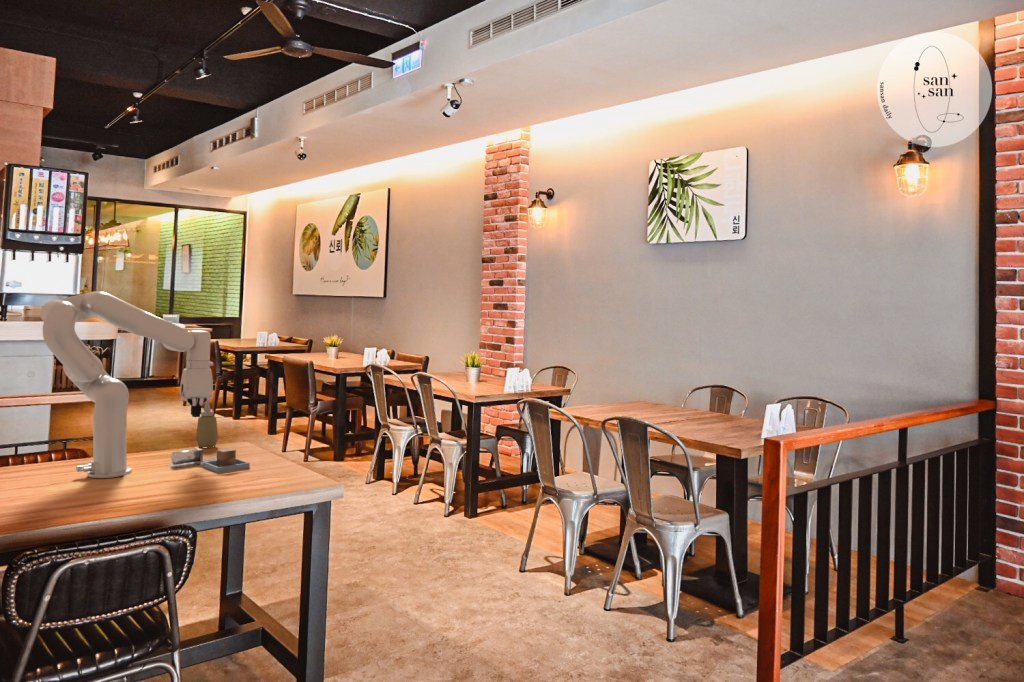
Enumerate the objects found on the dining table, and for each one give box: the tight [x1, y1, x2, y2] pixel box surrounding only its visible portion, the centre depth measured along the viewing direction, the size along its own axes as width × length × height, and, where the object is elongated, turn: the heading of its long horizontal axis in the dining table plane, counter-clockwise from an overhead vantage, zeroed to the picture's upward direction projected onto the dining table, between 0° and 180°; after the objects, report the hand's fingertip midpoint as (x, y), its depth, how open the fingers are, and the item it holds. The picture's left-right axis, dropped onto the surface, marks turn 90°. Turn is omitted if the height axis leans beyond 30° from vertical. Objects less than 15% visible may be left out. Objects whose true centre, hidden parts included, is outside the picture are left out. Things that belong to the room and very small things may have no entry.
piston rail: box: [166, 457, 217, 470], centre depth 245 cm, size 18×7×1 cm, turn 138°
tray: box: [202, 457, 251, 475], centre depth 239 cm, size 11×11×2 cm
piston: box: [170, 446, 204, 465], centre depth 242 cm, size 9×5×5 cm, turn 138°
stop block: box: [216, 447, 237, 467], centre depth 239 cm, size 4×4×6 cm
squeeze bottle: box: [195, 401, 219, 449], centre depth 273 cm, size 8×8×18 cm
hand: (195, 416), depth 246 cm, fingers closed
